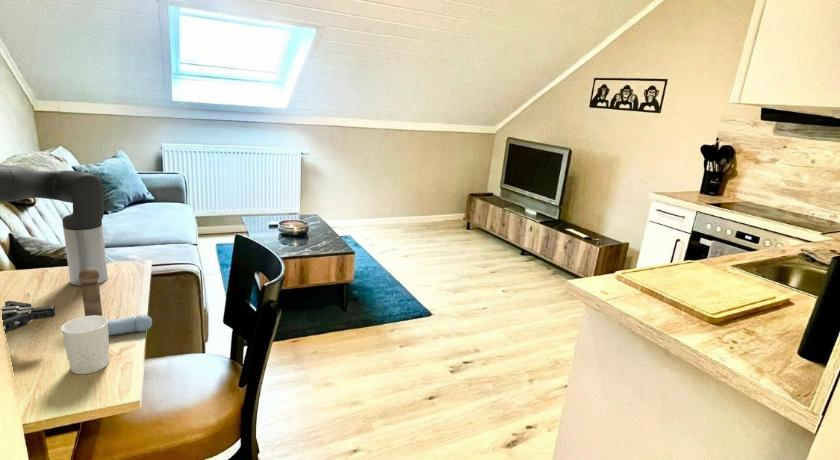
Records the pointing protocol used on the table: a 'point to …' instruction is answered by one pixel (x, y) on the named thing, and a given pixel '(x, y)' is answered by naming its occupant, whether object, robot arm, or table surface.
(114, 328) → the blue pin
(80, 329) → the white cup
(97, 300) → the walnut pin
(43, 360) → the table surface
